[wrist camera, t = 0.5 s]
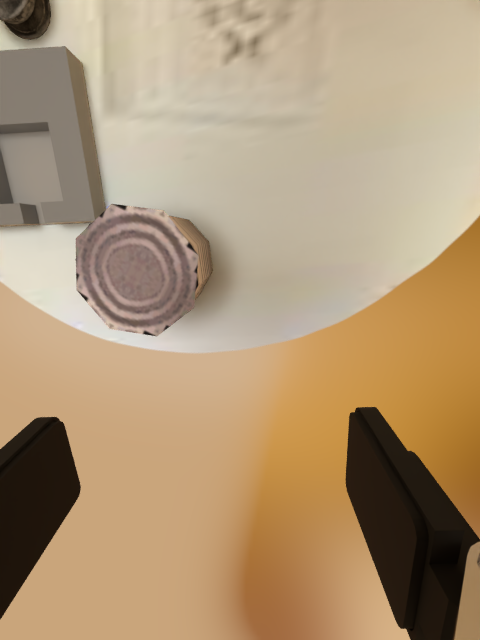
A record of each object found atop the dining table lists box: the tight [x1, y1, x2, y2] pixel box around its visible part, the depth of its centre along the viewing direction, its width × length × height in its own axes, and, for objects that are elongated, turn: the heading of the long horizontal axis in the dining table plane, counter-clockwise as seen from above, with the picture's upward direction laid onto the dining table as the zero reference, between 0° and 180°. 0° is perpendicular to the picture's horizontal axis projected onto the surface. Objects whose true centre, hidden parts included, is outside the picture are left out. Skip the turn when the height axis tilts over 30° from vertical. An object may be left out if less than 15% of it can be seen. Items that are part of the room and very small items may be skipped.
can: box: [76, 204, 213, 336], centre depth 31 cm, size 11×11×12 cm
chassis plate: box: [0, 46, 106, 226], centre depth 33 cm, size 16×14×3 cm
